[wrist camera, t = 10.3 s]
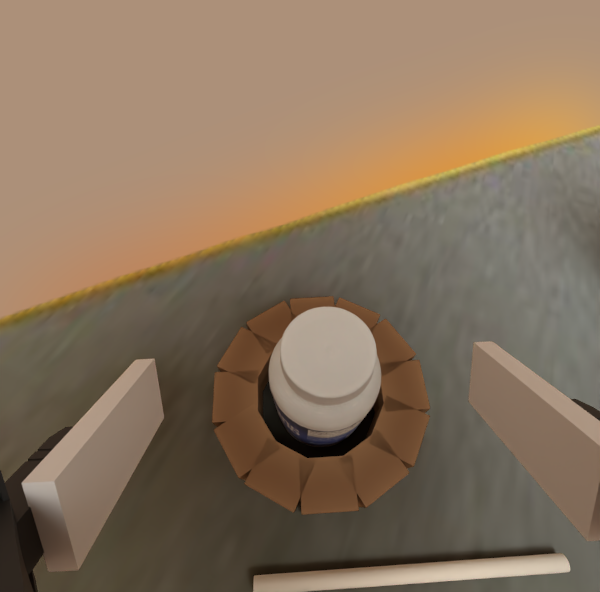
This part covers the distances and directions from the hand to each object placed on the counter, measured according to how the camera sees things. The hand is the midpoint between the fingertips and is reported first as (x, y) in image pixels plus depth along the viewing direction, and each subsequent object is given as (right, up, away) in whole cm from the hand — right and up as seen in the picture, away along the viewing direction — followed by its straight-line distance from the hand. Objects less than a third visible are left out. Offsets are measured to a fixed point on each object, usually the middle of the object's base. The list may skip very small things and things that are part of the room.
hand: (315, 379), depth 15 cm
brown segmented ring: (0, -3, +8) cm, 9 cm away
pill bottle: (+1, -3, +8) cm, 9 cm away
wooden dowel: (+5, -11, +4) cm, 13 cm away
